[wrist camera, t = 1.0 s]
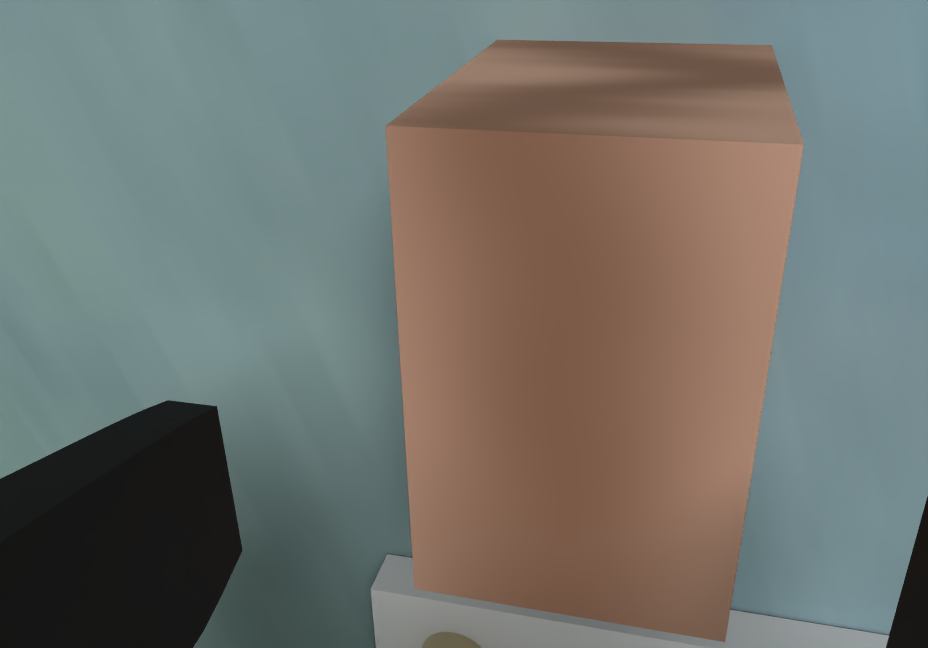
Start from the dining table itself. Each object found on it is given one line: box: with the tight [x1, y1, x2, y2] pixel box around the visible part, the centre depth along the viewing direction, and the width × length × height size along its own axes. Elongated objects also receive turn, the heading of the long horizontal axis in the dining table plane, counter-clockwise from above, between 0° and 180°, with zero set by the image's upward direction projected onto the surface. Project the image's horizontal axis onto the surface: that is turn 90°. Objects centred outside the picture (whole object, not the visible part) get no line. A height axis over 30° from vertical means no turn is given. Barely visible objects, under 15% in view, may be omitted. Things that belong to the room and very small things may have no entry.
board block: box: [386, 40, 804, 642], centre depth 14 cm, size 4×7×6 cm, turn 1°
